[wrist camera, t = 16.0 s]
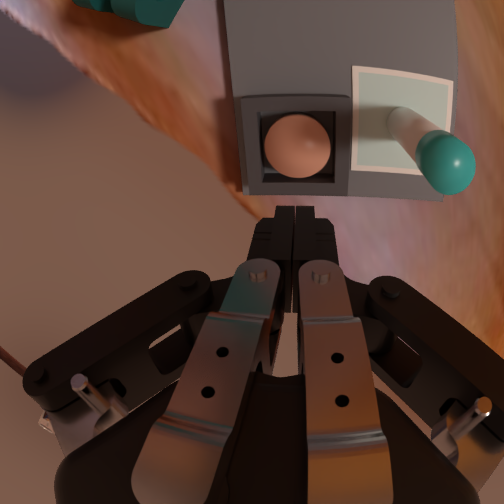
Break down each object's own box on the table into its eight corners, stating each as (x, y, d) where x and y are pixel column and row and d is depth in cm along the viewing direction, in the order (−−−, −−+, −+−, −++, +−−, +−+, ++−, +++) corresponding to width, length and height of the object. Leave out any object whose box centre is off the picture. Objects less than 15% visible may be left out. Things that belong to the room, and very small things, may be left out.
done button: (265, 112, 22) (262, 116, 21) (328, 112, 21) (330, 116, 20) (268, 169, 25) (266, 177, 23) (328, 169, 24) (329, 178, 23)
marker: (388, 102, 20) (432, 133, 12) (423, 110, 19) (481, 146, 12) (383, 138, 22) (420, 189, 14) (417, 145, 21) (467, 199, 14)
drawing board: (223, -22, 16) (213, -31, 14) (449, -5, 13) (464, -10, 11) (244, 191, 28) (238, 206, 25) (439, 198, 25) (451, 213, 22)
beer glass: (50, 390, 82) (34, 421, 70) (59, 392, 79) (42, 425, 67) (63, 400, 85) (48, 431, 73) (72, 403, 83) (57, 435, 71)
